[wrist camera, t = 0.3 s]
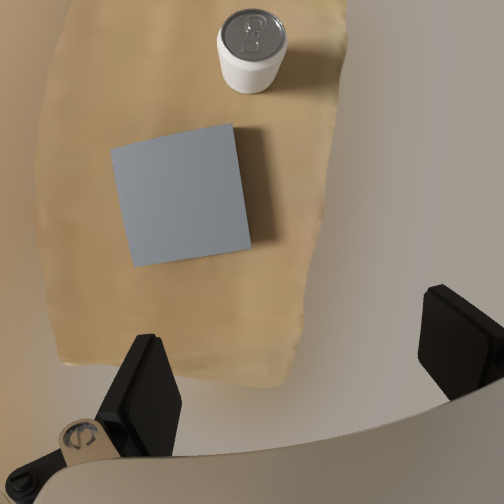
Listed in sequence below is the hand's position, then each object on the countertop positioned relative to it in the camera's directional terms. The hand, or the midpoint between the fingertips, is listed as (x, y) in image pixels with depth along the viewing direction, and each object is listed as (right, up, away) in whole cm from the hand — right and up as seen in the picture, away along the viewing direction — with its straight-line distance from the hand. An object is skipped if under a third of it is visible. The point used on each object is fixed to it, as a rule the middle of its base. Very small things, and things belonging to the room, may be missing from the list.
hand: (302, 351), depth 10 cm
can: (-2, +25, +24) cm, 35 cm away
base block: (-10, +10, +28) cm, 31 cm away
